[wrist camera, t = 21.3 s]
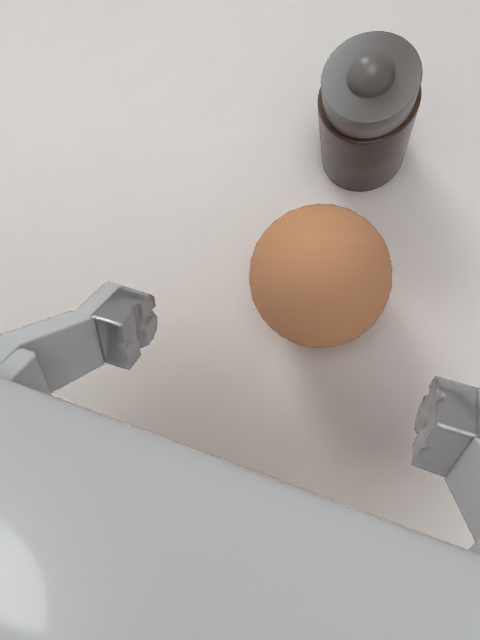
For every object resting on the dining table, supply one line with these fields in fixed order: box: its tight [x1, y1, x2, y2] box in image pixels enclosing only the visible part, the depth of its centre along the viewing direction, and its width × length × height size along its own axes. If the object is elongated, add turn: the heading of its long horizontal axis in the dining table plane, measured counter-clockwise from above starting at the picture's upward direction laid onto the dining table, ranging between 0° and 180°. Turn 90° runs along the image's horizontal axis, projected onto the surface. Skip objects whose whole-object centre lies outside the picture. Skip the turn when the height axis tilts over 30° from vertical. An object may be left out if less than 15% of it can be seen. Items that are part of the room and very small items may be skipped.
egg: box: [249, 204, 392, 348], centre depth 21 cm, size 7×7×9 cm
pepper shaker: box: [318, 31, 423, 191], centre depth 22 cm, size 5×5×8 cm
